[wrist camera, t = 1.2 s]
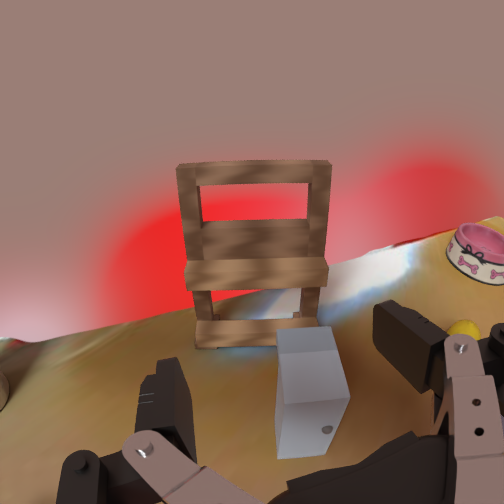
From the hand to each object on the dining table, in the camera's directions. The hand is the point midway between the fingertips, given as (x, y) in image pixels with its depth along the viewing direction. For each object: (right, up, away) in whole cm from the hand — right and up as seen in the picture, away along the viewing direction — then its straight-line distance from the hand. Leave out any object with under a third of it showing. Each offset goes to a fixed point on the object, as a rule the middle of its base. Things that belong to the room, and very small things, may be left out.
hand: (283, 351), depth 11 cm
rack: (0, -8, +32) cm, 33 cm away
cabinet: (+4, -16, +18) cm, 24 cm away
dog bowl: (+51, +1, +46) cm, 69 cm away
